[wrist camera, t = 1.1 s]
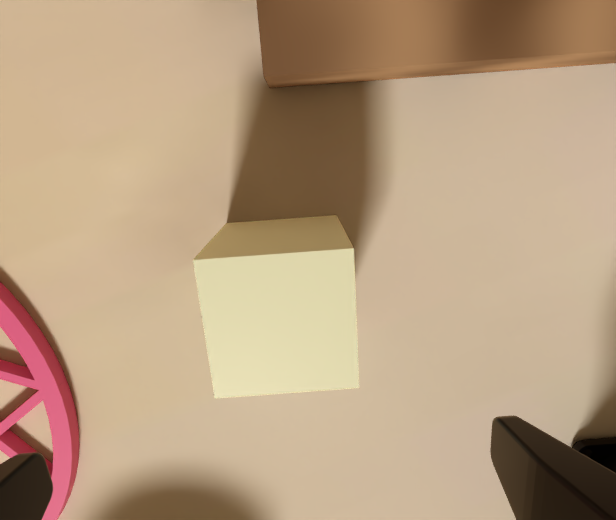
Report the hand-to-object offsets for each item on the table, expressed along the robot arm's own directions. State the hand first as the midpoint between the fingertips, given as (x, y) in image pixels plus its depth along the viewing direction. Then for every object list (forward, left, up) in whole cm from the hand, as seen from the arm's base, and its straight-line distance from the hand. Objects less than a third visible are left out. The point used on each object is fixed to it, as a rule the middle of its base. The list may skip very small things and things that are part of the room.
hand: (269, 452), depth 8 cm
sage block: (0, 0, -11) cm, 11 cm away
